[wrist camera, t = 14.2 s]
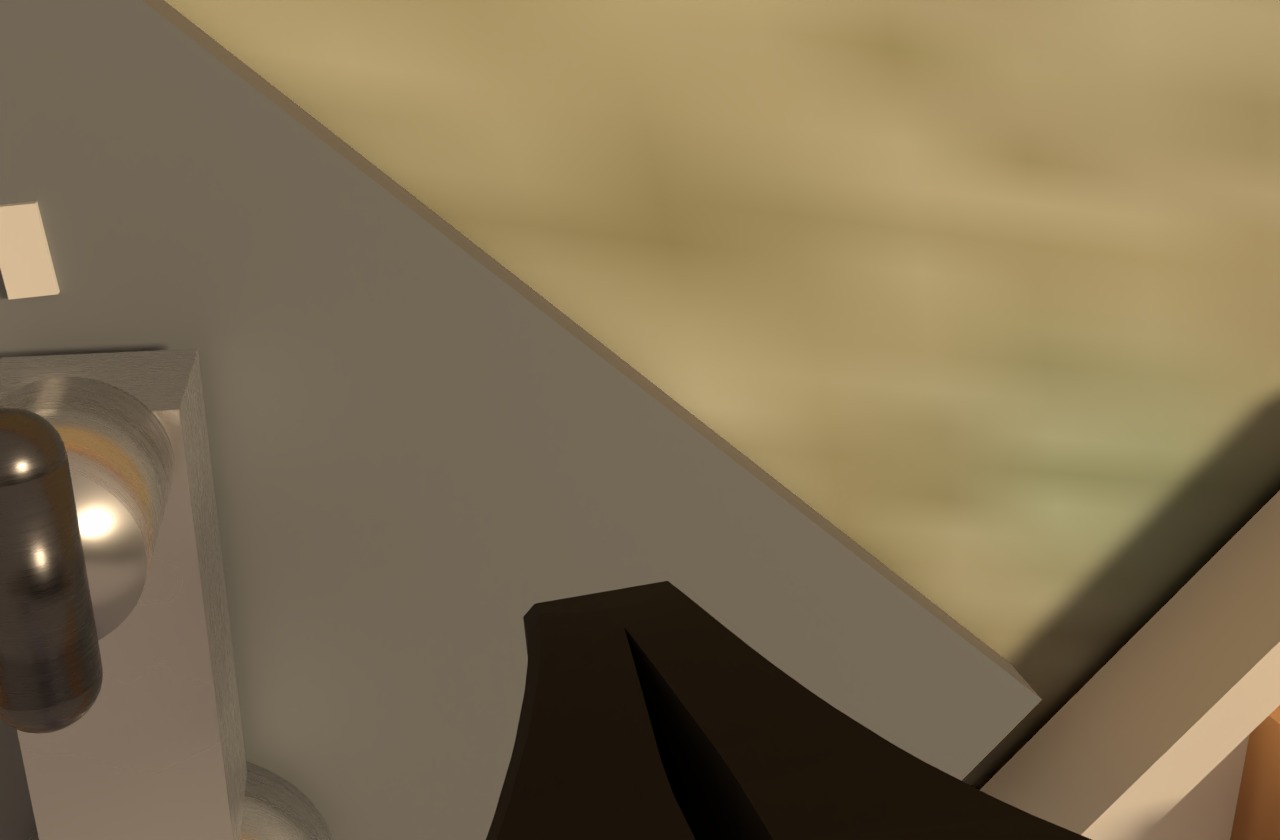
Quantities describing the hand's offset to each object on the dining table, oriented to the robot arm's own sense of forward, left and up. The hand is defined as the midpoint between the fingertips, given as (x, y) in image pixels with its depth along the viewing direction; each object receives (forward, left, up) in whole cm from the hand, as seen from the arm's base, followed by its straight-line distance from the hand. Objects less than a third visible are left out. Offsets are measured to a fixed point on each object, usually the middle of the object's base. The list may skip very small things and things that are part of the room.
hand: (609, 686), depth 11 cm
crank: (-5, +2, -5) cm, 7 cm away
